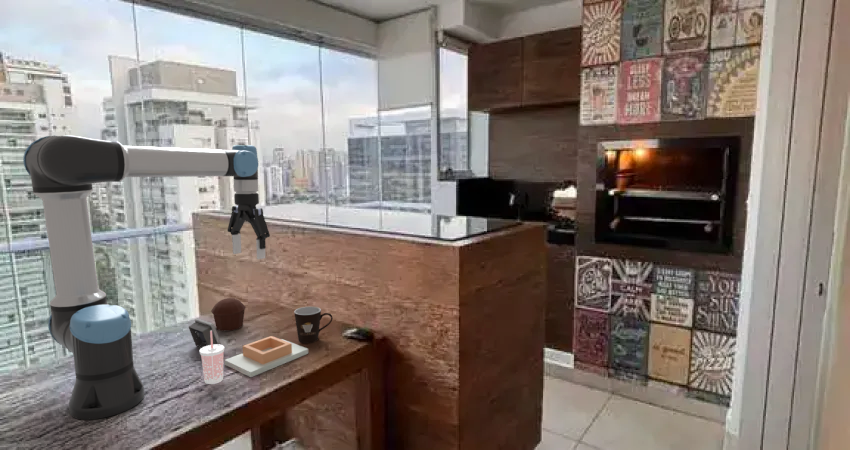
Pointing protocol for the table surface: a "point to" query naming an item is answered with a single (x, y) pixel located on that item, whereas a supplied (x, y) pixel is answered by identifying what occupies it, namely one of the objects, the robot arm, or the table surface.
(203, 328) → the electrical switch
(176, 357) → the table surface
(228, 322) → the muffin
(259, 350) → the cup holder
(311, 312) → the coffee mug
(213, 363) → the beverage cup
